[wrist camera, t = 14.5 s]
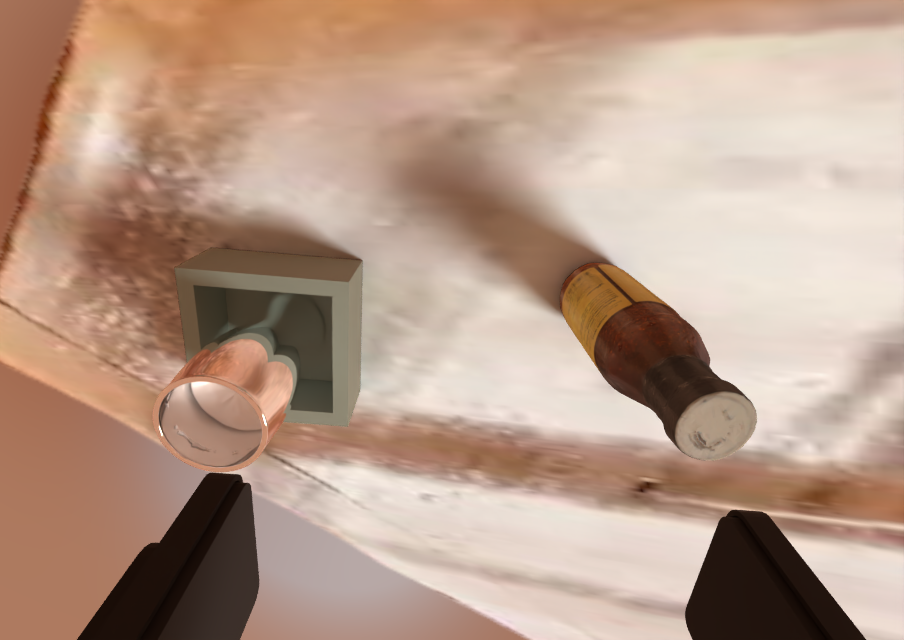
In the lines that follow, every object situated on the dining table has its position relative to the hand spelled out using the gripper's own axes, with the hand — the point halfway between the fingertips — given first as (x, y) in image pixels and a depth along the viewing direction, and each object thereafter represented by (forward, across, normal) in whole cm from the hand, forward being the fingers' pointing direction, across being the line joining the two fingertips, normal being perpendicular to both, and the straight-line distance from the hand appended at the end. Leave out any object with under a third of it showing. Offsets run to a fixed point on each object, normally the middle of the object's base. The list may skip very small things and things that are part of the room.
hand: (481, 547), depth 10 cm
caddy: (+32, +14, +10) cm, 37 cm away
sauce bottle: (+32, -12, +5) cm, 35 cm away
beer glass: (+32, +14, +10) cm, 36 cm away
